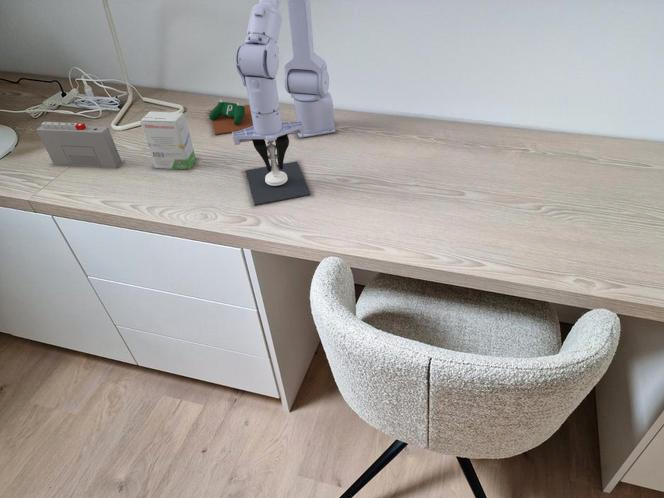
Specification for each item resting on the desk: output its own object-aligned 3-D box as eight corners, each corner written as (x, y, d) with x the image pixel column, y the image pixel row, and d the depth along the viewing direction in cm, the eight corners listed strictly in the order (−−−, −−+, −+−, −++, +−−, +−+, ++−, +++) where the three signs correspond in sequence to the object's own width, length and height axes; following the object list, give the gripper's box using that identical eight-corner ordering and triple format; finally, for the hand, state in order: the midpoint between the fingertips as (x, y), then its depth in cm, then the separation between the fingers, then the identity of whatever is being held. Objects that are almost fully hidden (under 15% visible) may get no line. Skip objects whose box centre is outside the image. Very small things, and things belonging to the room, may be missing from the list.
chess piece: (291, 176, 109) (286, 135, 102) (280, 187, 106) (273, 145, 99) (273, 171, 111) (266, 130, 104) (260, 182, 107) (253, 141, 101)
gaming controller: (244, 129, 130) (250, 107, 130) (236, 124, 127) (243, 101, 127) (215, 123, 133) (221, 101, 133) (207, 118, 129) (213, 96, 129)
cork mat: (254, 105, 138) (253, 104, 137) (262, 127, 128) (261, 126, 128) (210, 112, 135) (210, 110, 135) (215, 135, 125) (214, 133, 125)
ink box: (154, 168, 114) (137, 120, 106) (163, 157, 118) (147, 110, 110) (190, 170, 113) (176, 122, 105) (197, 158, 117) (184, 111, 109)
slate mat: (297, 162, 115) (296, 161, 115) (310, 195, 105) (310, 193, 105) (245, 171, 113) (245, 170, 112) (254, 205, 103) (254, 204, 103)
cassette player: (122, 162, 117) (106, 122, 110) (116, 168, 115) (100, 128, 108) (60, 159, 118) (41, 119, 111) (54, 164, 116) (33, 125, 109)
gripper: (230, 122, 93) (243, 183, 102) (305, 110, 96) (311, 171, 105) (226, 106, 98) (239, 166, 107) (297, 96, 101) (304, 155, 110)
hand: (274, 168), depth 106 cm, fingers closed on chess piece
